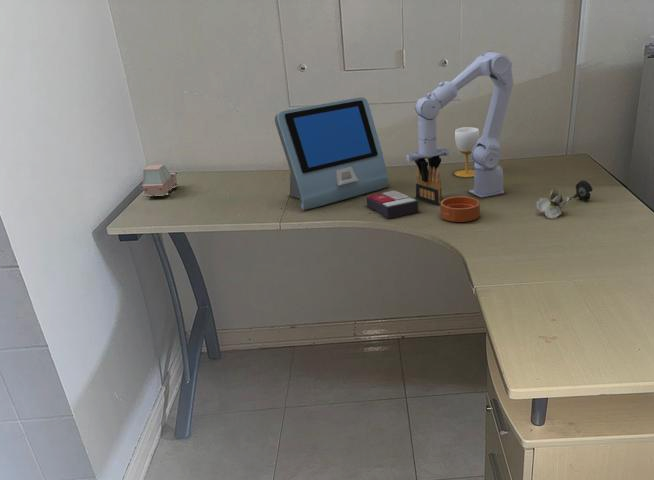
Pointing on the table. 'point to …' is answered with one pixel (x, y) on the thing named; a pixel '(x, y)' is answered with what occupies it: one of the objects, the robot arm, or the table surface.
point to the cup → (466, 146)
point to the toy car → (158, 180)
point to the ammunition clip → (429, 187)
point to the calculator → (392, 204)
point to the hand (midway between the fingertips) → (428, 180)
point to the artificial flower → (553, 206)
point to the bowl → (460, 209)
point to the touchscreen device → (331, 152)
